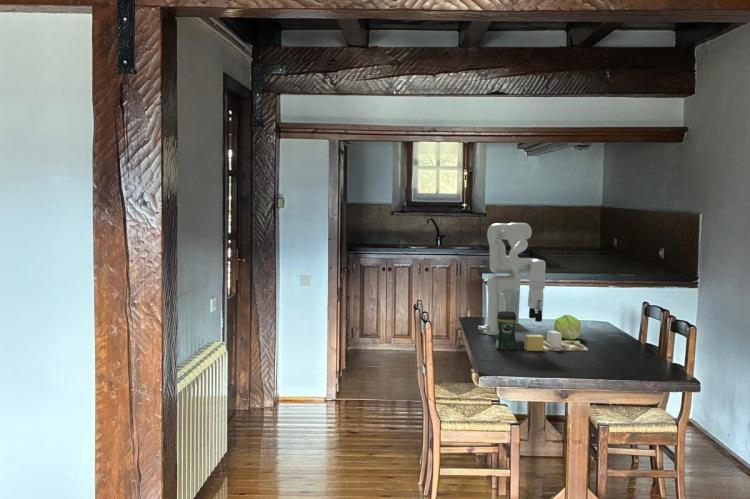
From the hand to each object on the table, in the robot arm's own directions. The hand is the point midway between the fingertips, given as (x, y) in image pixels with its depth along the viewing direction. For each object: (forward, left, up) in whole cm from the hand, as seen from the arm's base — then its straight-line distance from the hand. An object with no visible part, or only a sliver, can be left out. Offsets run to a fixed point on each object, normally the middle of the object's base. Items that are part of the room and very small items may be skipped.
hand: (535, 319), depth 374 cm
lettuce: (+28, +27, -15) cm, 42 cm away
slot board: (+16, +4, -15) cm, 22 cm away
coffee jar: (-14, +1, -15) cm, 21 cm away
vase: (+10, +75, -15) cm, 77 cm away
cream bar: (+11, +4, -14) cm, 18 cm away
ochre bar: (0, 0, -15) cm, 15 cm away
